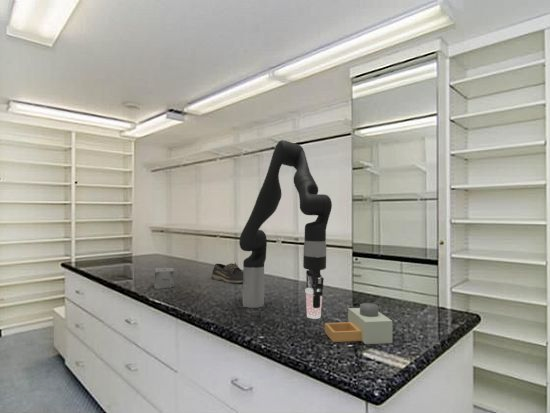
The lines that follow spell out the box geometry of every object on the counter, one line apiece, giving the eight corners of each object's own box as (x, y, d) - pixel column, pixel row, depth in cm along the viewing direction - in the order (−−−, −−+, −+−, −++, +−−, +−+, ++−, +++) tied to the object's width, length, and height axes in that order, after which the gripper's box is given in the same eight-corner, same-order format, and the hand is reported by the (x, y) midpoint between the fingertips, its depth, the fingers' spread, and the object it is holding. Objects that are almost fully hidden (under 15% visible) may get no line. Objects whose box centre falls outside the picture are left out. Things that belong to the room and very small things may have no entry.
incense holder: (154, 289, 188) (154, 269, 188) (154, 286, 196) (154, 267, 196) (173, 288, 191) (174, 269, 191) (173, 285, 199) (173, 266, 199)
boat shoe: (244, 286, 200) (244, 266, 200) (205, 280, 216) (205, 262, 216) (255, 282, 209) (255, 264, 209) (217, 277, 225) (218, 260, 225)
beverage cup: (306, 313, 123) (307, 272, 123) (324, 315, 121) (325, 273, 121) (302, 318, 117) (303, 275, 117) (321, 320, 115) (322, 276, 115)
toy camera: (335, 345, 111) (336, 313, 112) (322, 328, 127) (322, 300, 127) (392, 343, 114) (392, 311, 114) (371, 326, 130) (372, 299, 130)
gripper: (299, 251, 126) (298, 299, 126) (308, 257, 111) (307, 311, 111) (320, 251, 127) (319, 299, 127) (332, 257, 112) (331, 310, 112)
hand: (313, 304), depth 119 cm, fingers closed on beverage cup, 6 cm apart
